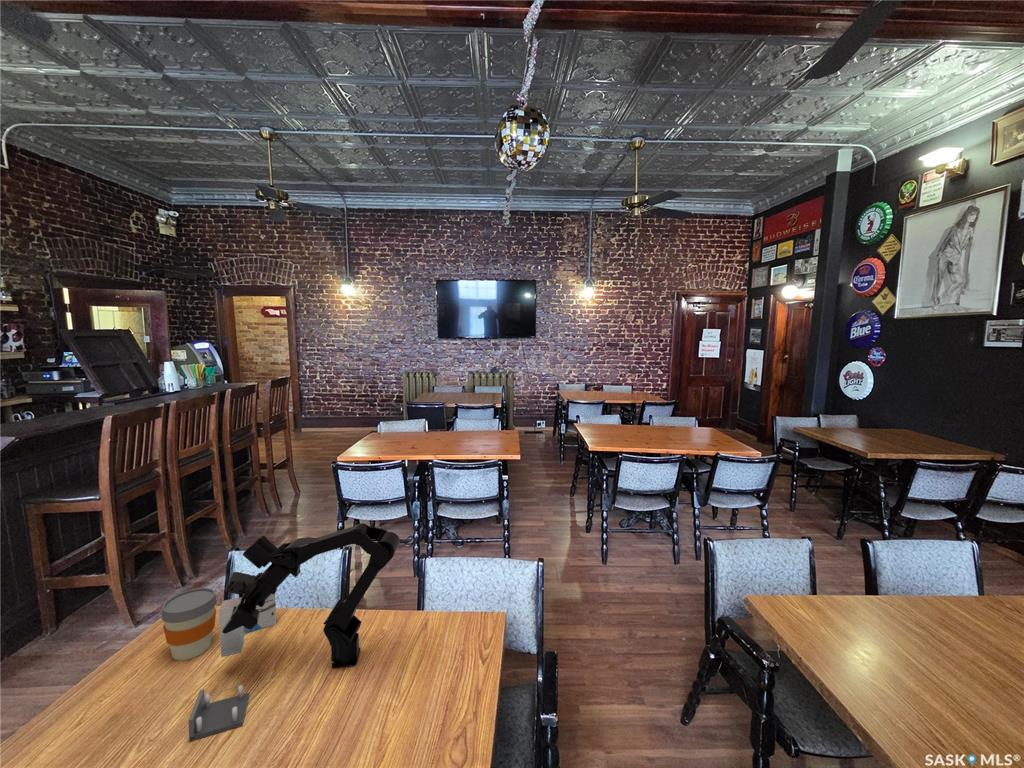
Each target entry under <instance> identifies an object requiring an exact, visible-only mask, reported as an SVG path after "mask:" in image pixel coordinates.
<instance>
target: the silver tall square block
mask: <svg viewBox="0 0 1024 768" xmlns="http://www.w3.org/2000/svg"><path fill="white" fill-rule="evenodd" d="M241 603H242V597H240V598H239V597H236V598H230V599H226V600H222V602H221V605H220V606H219V609H218V616H219V617H218V618H219V619H218V620H219V635H220V638H219V639H220V640H219V641H220V653H221V654H220V657H221V658H224V657H229V656H232V655H233V656H234V655H237V654H240V653H242V650H243V649H244V644H245V627H244V626H241V627H239V628H237V629H235V630H233V631H231V632H228V633H226V634H224V633H223V632H222V631H223V629H224V628H225V626H226V625H227V624H228V622H229V621H230V619H231V615H232V611H233V609H234V606H236V607H237V606H238V605H239V604H241Z"/></svg>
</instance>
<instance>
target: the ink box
mask: <svg viewBox="0 0 1024 768" xmlns="http://www.w3.org/2000/svg"><path fill="white" fill-rule="evenodd" d="M276 598H277V597H276V593H275V594H274V595H273V594H271V595H270V596H269V597H268V598H267V599H266V600H265V604H264V606H263V607H262V608H261V607H260V606H258V605H257V606H256V609H257V610H258V611H259V614H260V616H259V620H258V623H257V624H256V626H255V627H254V628H253V629H252V630H249V629H247V628H246V627H244V634H247V633H251V632H254V631H259V630H262V629H264V628H268V627H271V626H275V625H276V624H277V607H276V605H277V602H276V600H277V599H276Z"/></svg>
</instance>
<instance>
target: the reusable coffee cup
mask: <svg viewBox="0 0 1024 768" xmlns="http://www.w3.org/2000/svg"><path fill="white" fill-rule="evenodd" d="M217 603H218V601H217V596H216V592H215V590H214V589H213V588H210V587H209V588H208V587H197V588H193V589H188V590H186V591H182V592H180V593H178V594H176V595H174V596H172V597H170V598H168V600H166V601H165V602H164V603H163V605H162V607H161V609H162V610H161V620H162V621H163V623H164V624H163V626H162V627H163V631H164V632H163V633H164V636H165V640H166V643H167V644H168V645H169V647H170V652H171V656H172V659H174V660H175V661H186V660H190V659H193V658H196V657H198V656H200V655H201V654H203V653H205V652H206V651H207V650H208V649H209V648H210V647H211V644H212V637H213V630H214V629H215V625H216V617H217V616H216V615H217V609H216V606H217Z"/></svg>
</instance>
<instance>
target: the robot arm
mask: <svg viewBox="0 0 1024 768" xmlns="http://www.w3.org/2000/svg"><path fill="white" fill-rule="evenodd" d="M376 541H377V542H376ZM353 544H355V545H358V546H359V547H360V548H361V549H362V551H364V552H365V553H366V554H368V555H370V556H369V560H368V563H367V566H366V567H365V569H364V570H363V572H362V573H361V575H360V576H359V579H358V580H357V581H356V584H355V585H354V586H353V588H352V590H351V591H350V593H349V594H348V595H347V597H346V599H345V600H344V601H343V600H341V598H339V599H338V600H337V602H336V604H335V605H334V607H333V608H332V609H331V611H330V613H329V615H328V616H327V617H326V619H325V621H324V622H323V625H324V627H323V630H322V631H323V633H324V636H325V637H326V638H327V641H328V643H329V645H330V647H331V648H330V651H331V652H330V655H331V657H330V658H331V662H332V664H331V668H332V669H336V668H344V667H345V668H346V667H347V668H348V667H355V666H357V665H358V662H359V661H358V660H359V657H360V653H361V647H360V637H359V636H360V635H359V634H360V633H359V630H360V628H361V626H362V621H361V620H360V619H359V618H358V617H357V616H356V615H355V614H356V611H357V609H358V606H359V604H360V602H361V601H362V599H363V598H364V596H365V594H366V593H367V591H368V589H369V588H370V586H371V585H372V583H373V581H374V580H375V579H376V577H377V575H378V574H379V572H381V570H382V569H384V568H385V567H386V566H387V565H388V564H389V563H390V562H391V560H392V558H394V556H395V554H396V552H397V550H398V549H399V547H400V545H401V540H400V537H399V535H398V534H397V533H395V532H393V531H388V530H385V529H383V528H381V527H376V526H372V525H371V526H370V525H368V524H366V523H364V522H361V523H357V524H356V525H353V526H350V527H347V528H344V529H343V528H342V529H341V530H338V531H335V532H331V533H329V534H325V535H322V536H318V537H313V536H306V537H299V538H296V539H294V540H293V541H292V542H285V543H282V544H281V545H279V546H278V547H277V546H276V545H275V544H273V543H272V542H271V541H270V540H269V539H268V538H267V537H266V536H265V535H262V536H260V537H259V538H258V539H257V540H256V541H255V542H254V543H253V544H252V545H251V546H249V547H248V548H247V549H245V550H244V552H242V554H241V555H242V557H244V558H245V559H246V560H248V561H249V562H250V563H251V564H252V565H254V566H255V567H256V568H257V569H258V570H260V569H261V568H262V567H263V568H265V567H267V568H266V569H265V570H264V571H261V572H258V573H257V574H256V575H252V574H249V573H244V572H239V571H234V572H232V574H231V576H230V578H229V580H228V582H227V584H226V587H225V589H224V591H225V592H226V593H230V594H233V595H238V598H240V597H242V603H241V604H239V605H238V606H237V607H236V606H234V609H233V611H232V615H231V619H230V621H229V622H228V624H227V625H226V626H225V628H224V629H223V631H222V632H223V633H224V634H226V633H228V632H231V631H233V630H235V629H237V628H239V627H241V626H244V628H245V627H246V628H247V629H249V630H252V629H253V628H254V627H255V626H256V624H257V623H258V620H259V616H260V614H259V611H258V610H257V609H256V606H257V605H258V606H260V607H261V608H262V607H263V606H264V604H265V600H266V599H267V598H268V597H269V596H270V595H271V594H273V595H274V594H275V595H276V593H277V590H278V587H280V585H281V584H282V583H284V581H286V579H287V578H288V577H289V576H290V575H292V576H293V577H295V578H297V577H298V576H299V575H300V574H301V566H302V564H304V563H306V562H307V561H309V560H311V559H312V558H314V557H316V556H317V555H321V554H324V553H327V552H331V551H334V550H337V549H339V548H344V547H347V546H350V545H353ZM268 564H270V565H268Z"/></svg>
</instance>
